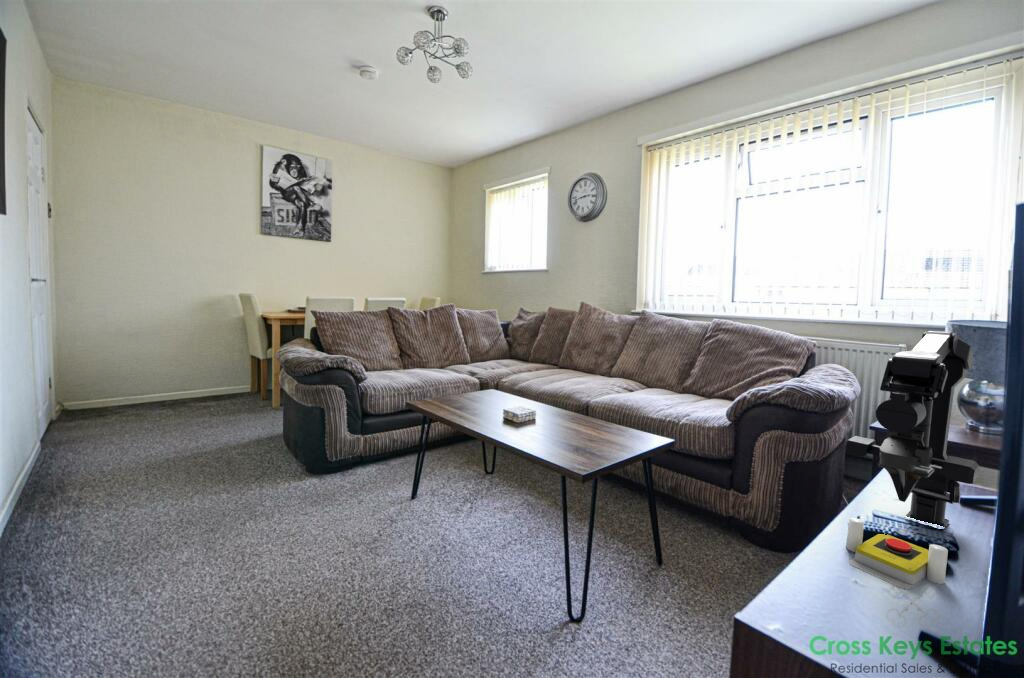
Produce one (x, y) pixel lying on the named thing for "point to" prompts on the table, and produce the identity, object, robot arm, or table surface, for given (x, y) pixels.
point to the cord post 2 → (937, 564)
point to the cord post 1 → (854, 533)
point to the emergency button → (892, 560)
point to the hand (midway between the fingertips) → (902, 500)
